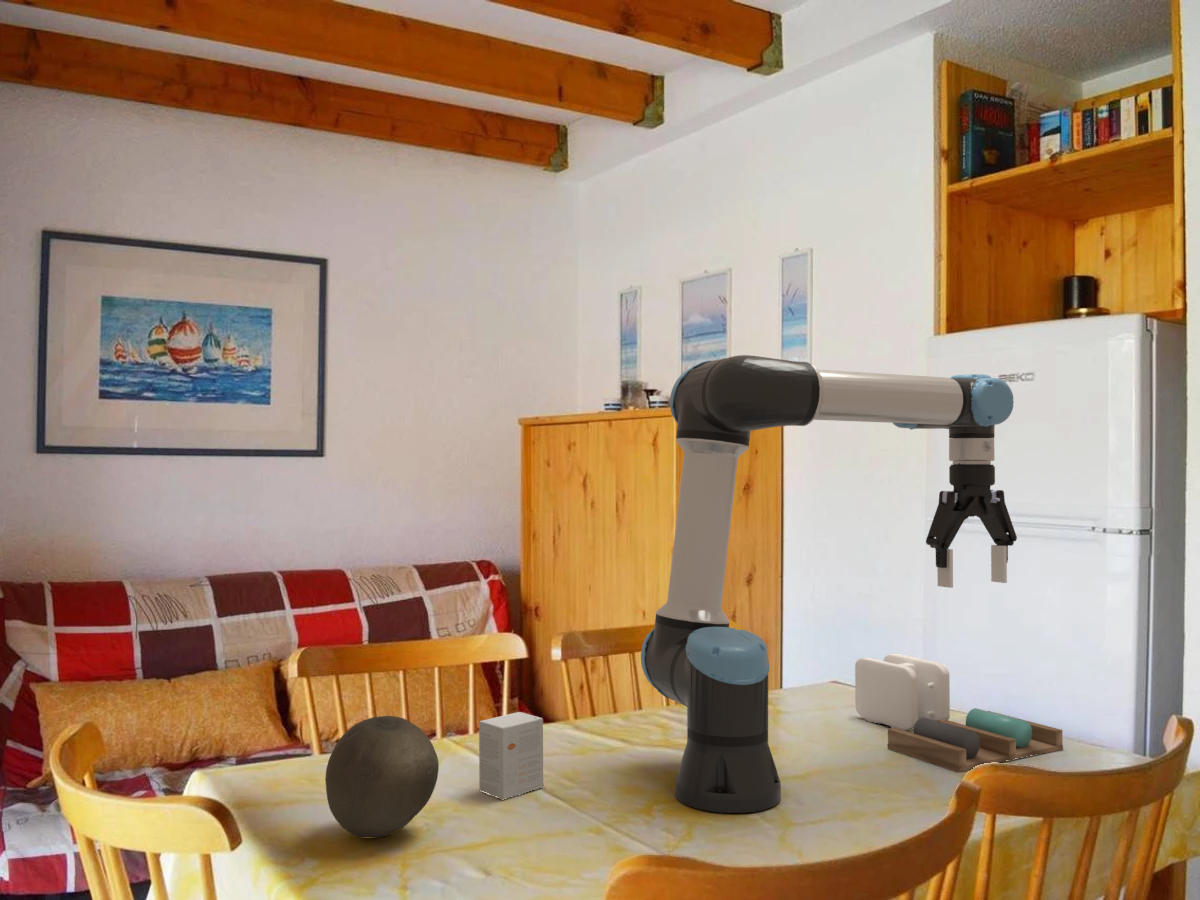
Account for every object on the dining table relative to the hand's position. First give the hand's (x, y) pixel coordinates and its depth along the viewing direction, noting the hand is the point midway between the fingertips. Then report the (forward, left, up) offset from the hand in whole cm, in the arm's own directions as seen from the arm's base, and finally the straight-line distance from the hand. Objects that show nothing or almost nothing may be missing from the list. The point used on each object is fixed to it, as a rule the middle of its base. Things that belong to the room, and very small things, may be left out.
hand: (972, 584), depth 178 cm
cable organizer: (-3, +14, -27) cm, 31 cm away
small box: (-82, +14, -27) cm, 87 cm away
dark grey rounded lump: (-104, +6, -27) cm, 108 cm away
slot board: (-6, -5, -27) cm, 28 cm away
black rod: (-11, -5, -24) cm, 27 cm away
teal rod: (-1, -5, -26) cm, 26 cm away
